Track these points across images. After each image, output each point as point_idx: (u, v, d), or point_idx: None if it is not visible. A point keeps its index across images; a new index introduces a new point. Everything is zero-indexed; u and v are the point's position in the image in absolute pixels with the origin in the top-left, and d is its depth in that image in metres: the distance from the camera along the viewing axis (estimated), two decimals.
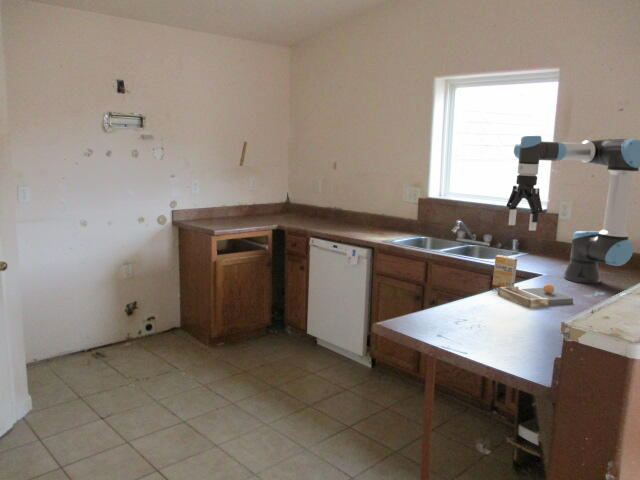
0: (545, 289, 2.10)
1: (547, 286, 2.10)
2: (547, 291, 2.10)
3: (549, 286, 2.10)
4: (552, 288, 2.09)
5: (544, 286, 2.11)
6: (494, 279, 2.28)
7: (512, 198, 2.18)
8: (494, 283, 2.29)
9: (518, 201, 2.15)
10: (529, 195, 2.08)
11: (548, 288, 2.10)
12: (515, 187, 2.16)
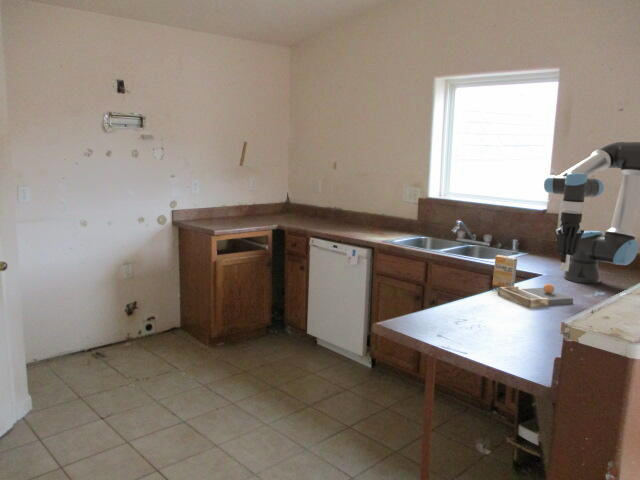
0: (545, 289, 2.10)
1: (547, 286, 2.10)
2: (547, 291, 2.10)
3: (549, 286, 2.10)
4: (552, 288, 2.09)
5: (544, 286, 2.11)
6: (494, 279, 2.28)
7: None
8: (494, 283, 2.29)
9: (569, 241, 2.10)
10: None
11: (548, 288, 2.10)
12: None
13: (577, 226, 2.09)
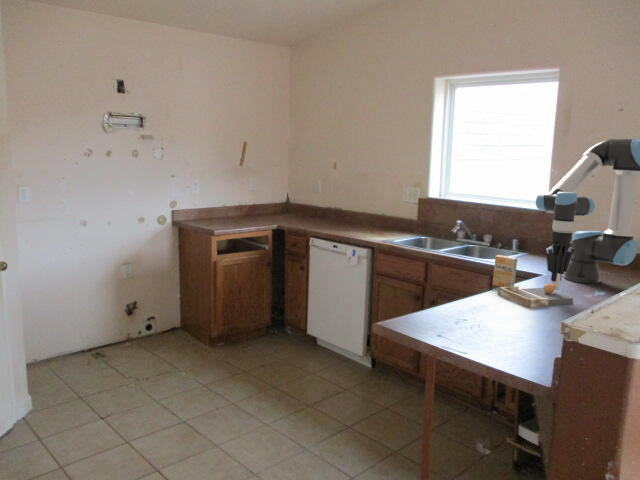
0: (545, 289, 2.10)
1: (547, 286, 2.10)
2: (547, 291, 2.10)
3: (549, 286, 2.10)
4: (552, 288, 2.09)
5: (544, 286, 2.11)
6: (494, 279, 2.28)
7: None
8: (494, 283, 2.29)
9: (560, 260, 2.10)
10: None
11: (548, 288, 2.10)
12: None
13: (567, 245, 2.09)
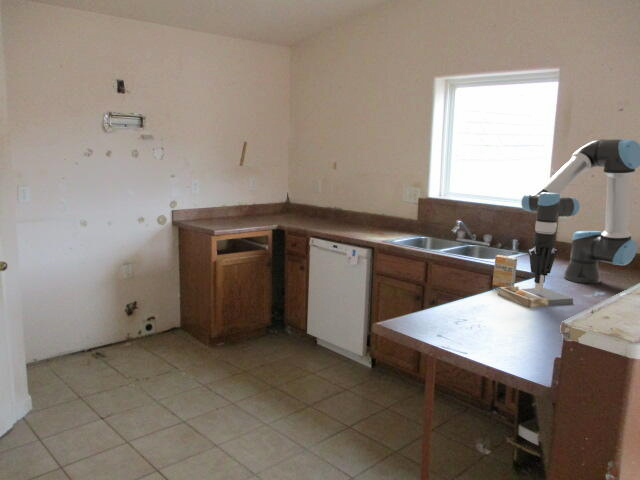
0: None
1: None
2: None
3: None
4: (522, 295, 2.05)
5: None
6: (494, 279, 2.28)
7: (547, 261, 2.09)
8: (494, 283, 2.29)
9: (543, 262, 2.08)
10: None
11: None
12: None
13: (551, 246, 2.06)
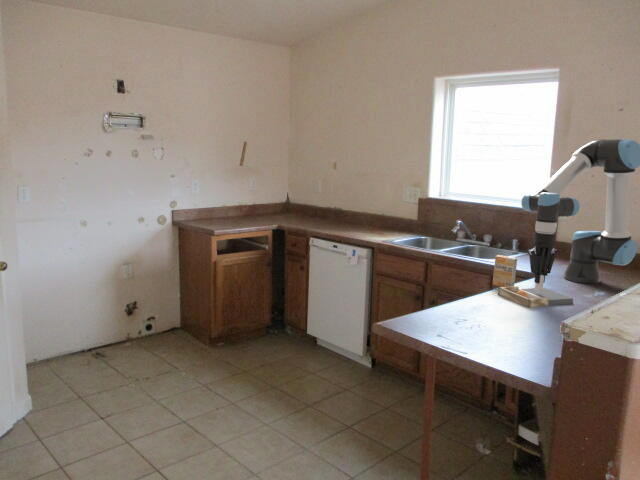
0: None
1: (519, 294, 2.06)
2: None
3: (521, 294, 2.06)
4: (524, 295, 2.05)
5: None
6: (494, 279, 2.28)
7: (547, 261, 2.09)
8: (494, 283, 2.29)
9: (543, 262, 2.08)
10: None
11: None
12: None
13: (551, 246, 2.06)
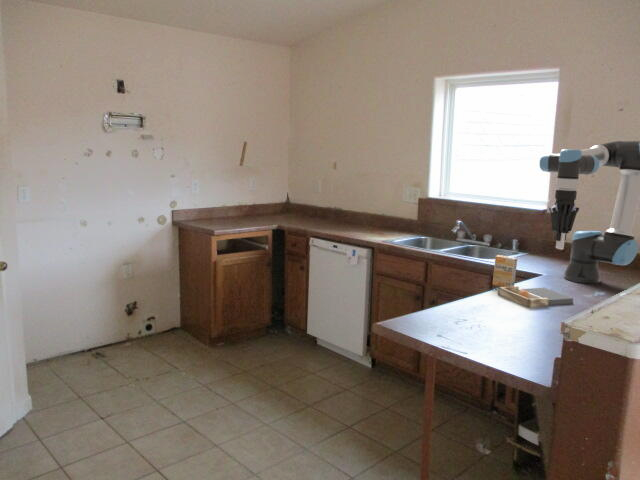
0: None
1: (522, 293, 2.06)
2: None
3: (524, 293, 2.06)
4: (527, 295, 2.06)
5: (519, 292, 2.07)
6: (494, 279, 2.28)
7: (568, 219, 2.09)
8: (494, 283, 2.29)
9: (564, 219, 2.07)
10: None
11: (522, 295, 2.06)
12: None
13: (572, 204, 2.06)
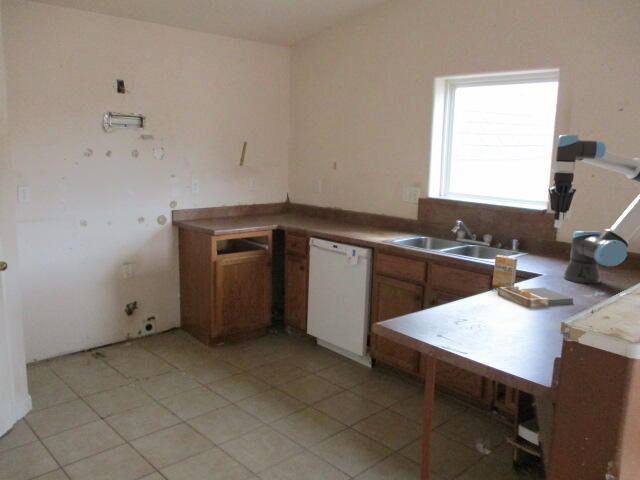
0: (522, 294, 2.07)
1: (525, 291, 2.06)
2: None
3: (527, 292, 2.06)
4: (529, 295, 2.06)
5: (522, 291, 2.08)
6: (494, 279, 2.28)
7: None
8: (494, 283, 2.29)
9: (562, 200, 2.24)
10: None
11: (524, 293, 2.06)
12: None
13: (569, 185, 2.23)
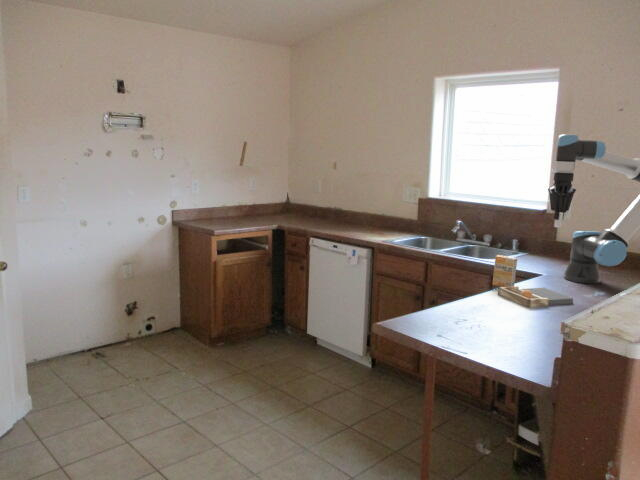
0: (524, 292, 2.07)
1: (528, 291, 2.07)
2: (525, 295, 2.06)
3: (529, 292, 2.06)
4: (531, 295, 2.06)
5: (525, 290, 2.08)
6: (494, 279, 2.28)
7: None
8: (494, 283, 2.29)
9: (562, 200, 2.24)
10: None
11: (527, 292, 2.06)
12: None
13: (569, 185, 2.23)
